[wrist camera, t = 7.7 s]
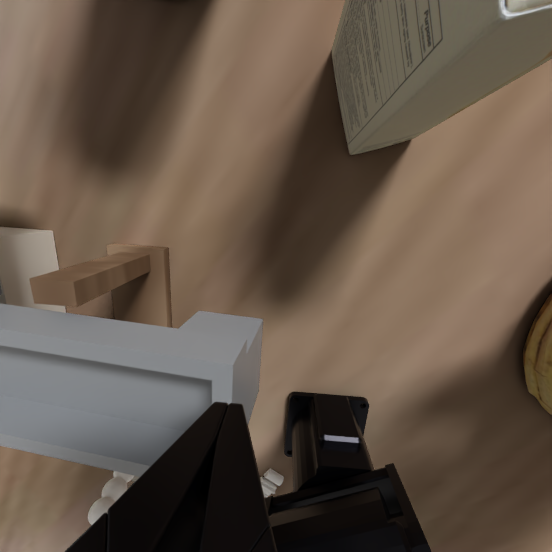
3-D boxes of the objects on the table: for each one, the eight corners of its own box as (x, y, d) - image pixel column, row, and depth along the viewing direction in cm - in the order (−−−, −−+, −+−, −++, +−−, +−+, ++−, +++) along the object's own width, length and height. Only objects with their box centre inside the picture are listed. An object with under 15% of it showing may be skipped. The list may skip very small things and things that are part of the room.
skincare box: (416, 139, 16) (767, -38, 4) (347, 157, 17) (500, 43, 5) (403, 17, 15) (908, -779, 3) (327, 41, 15) (487, -560, 3)
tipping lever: (274, 134, 12) (240, 77, 7) (258, 400, 17) (229, 497, 11) (-34, 123, 15) (-244, 72, 9) (20, 359, 19) (-102, 422, 13)
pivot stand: (168, 247, 19) (94, 275, 11) (174, 377, 22) (118, 464, 14) (113, 243, 19) (5, 268, 11) (127, 373, 22) (47, 458, 14)
